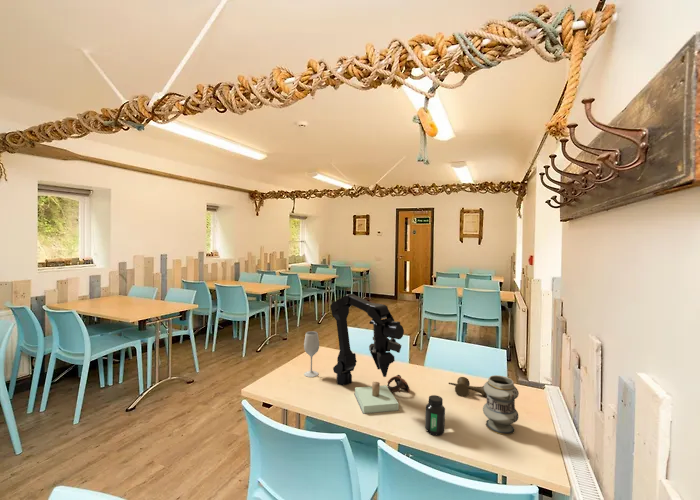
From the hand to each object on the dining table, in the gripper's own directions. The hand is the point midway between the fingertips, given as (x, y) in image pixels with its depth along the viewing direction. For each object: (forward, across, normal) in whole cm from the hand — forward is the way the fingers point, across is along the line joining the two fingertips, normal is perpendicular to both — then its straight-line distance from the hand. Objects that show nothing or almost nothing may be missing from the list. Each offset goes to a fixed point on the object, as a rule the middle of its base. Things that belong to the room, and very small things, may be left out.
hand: (381, 372), depth 138 cm
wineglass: (+10, +34, +28) cm, 45 cm away
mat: (+13, +1, +3) cm, 13 cm away
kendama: (+15, +4, -42) cm, 45 cm away
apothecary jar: (+16, -22, -39) cm, 47 cm away
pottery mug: (+13, +10, -10) cm, 19 cm away
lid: (+12, +1, +3) cm, 12 cm away
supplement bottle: (+15, -21, -14) cm, 29 cm away
